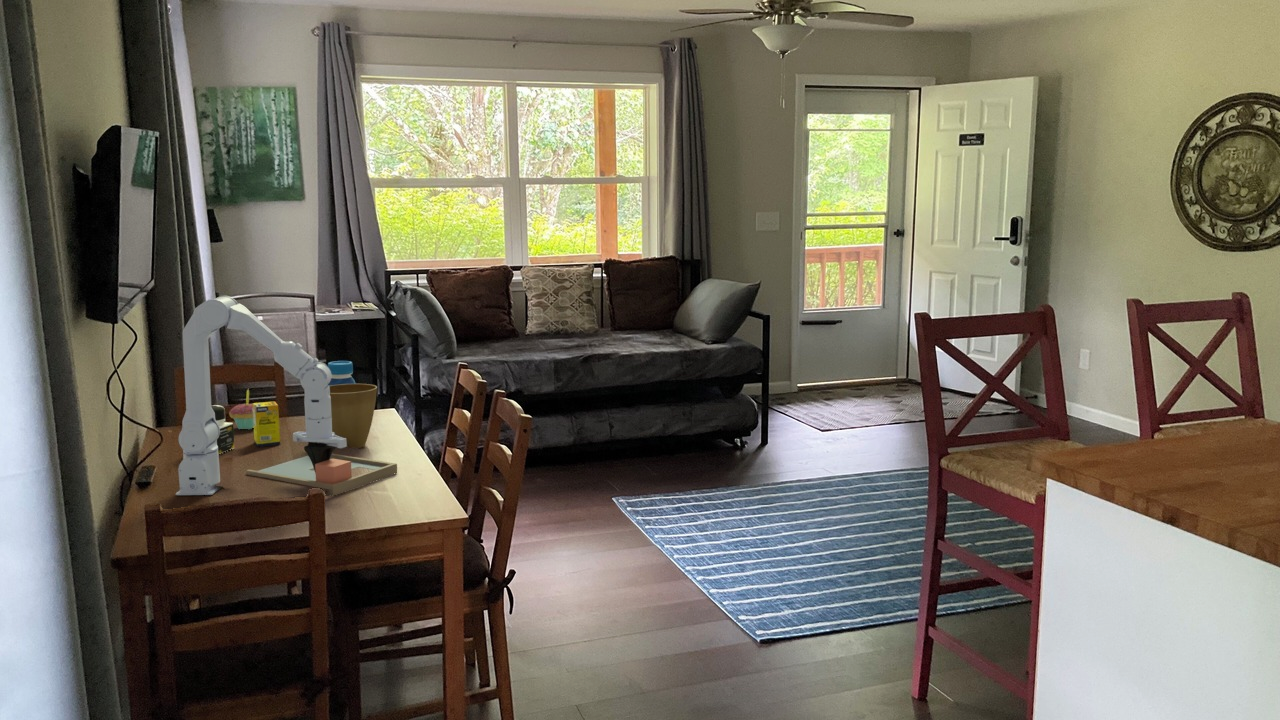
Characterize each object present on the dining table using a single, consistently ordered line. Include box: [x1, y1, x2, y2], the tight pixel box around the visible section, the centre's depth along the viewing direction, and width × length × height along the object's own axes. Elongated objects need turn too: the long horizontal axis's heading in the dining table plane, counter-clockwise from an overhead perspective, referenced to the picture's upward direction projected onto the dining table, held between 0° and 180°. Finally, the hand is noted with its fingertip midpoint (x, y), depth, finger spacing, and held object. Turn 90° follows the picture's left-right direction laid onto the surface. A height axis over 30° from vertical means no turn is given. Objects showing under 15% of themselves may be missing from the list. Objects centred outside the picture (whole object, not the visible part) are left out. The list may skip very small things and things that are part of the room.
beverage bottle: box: [327, 360, 357, 386], centre depth 271 cm, size 8×8×20 cm
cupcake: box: [228, 387, 254, 430], centre depth 276 cm, size 9×8×12 cm
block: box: [314, 459, 353, 484], centre depth 218 cm, size 6×6×4 cm
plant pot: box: [326, 383, 378, 450], centre depth 255 cm, size 15×15×16 cm
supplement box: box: [251, 401, 281, 447], centre depth 258 cm, size 6×6×11 cm
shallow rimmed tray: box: [245, 453, 398, 497], centre depth 227 cm, size 27×21×2 cm
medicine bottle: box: [211, 404, 236, 456], centre depth 249 cm, size 7×7×12 cm
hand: (321, 474), depth 220 cm, fingers closed
